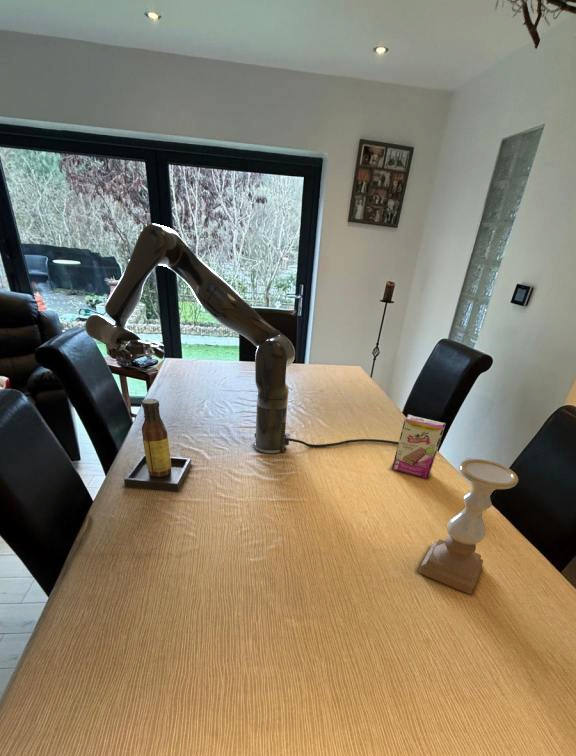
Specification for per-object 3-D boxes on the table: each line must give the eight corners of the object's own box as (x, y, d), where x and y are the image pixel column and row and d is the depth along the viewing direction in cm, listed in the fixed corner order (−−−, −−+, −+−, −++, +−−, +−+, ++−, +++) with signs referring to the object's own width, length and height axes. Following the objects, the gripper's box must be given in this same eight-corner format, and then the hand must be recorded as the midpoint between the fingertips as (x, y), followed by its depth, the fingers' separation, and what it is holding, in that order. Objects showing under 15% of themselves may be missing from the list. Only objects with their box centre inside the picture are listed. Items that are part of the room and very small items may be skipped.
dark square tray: (191, 465, 119) (190, 458, 117) (178, 491, 106) (177, 483, 105) (143, 461, 118) (142, 454, 117) (125, 486, 106) (123, 479, 105)
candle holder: (471, 595, 83) (517, 492, 70) (417, 572, 87) (451, 472, 74) (481, 566, 91) (524, 469, 78) (432, 546, 95) (465, 452, 82)
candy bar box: (391, 470, 126) (403, 418, 117) (394, 463, 130) (407, 413, 121) (428, 480, 123) (444, 428, 114) (430, 473, 127) (446, 422, 118)
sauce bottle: (176, 470, 114) (170, 399, 103) (163, 480, 109) (156, 407, 98) (155, 465, 115) (148, 395, 104) (142, 475, 110) (132, 402, 99)
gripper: (95, 329, 112) (116, 342, 101) (146, 327, 119) (171, 339, 109) (99, 358, 116) (120, 373, 105) (149, 354, 124) (173, 368, 113)
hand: (146, 356), depth 107 cm, fingers open, 8 cm apart
